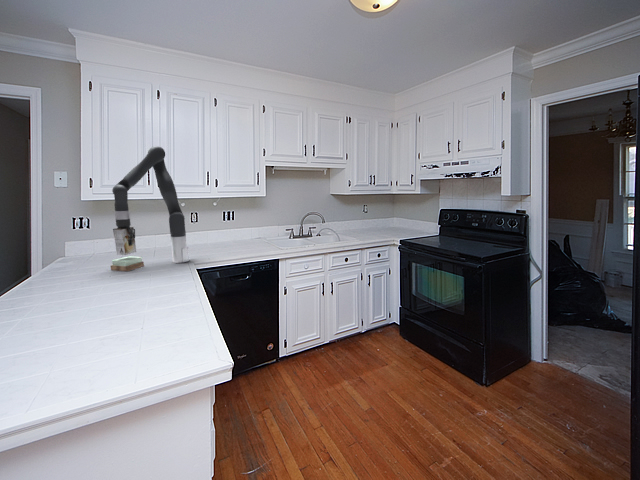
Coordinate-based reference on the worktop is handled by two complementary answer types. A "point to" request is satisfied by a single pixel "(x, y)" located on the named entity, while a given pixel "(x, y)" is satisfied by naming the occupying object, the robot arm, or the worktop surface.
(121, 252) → the coffee box
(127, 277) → the worktop surface
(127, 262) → the top slab
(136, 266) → the bottom slab
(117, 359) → the worktop surface
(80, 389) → the worktop surface
